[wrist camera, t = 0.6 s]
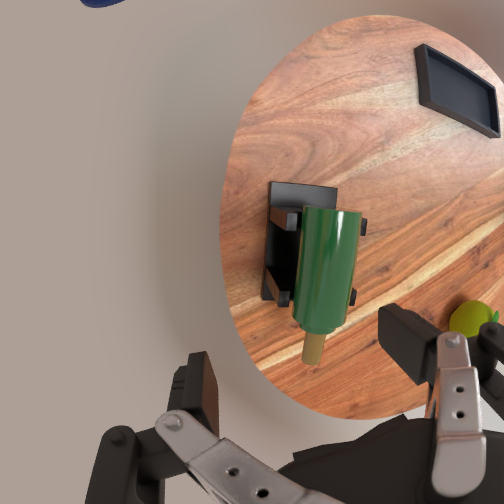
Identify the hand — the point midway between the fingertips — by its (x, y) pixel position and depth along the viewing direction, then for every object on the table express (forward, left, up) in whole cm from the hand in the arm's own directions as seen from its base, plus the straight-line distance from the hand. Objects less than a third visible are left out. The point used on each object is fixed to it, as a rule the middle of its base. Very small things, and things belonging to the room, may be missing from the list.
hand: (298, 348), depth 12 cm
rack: (0, +6, -22) cm, 23 cm away
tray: (-27, +33, -22) cm, 48 cm away
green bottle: (+2, +6, -15) cm, 16 cm away
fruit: (+12, +38, -22) cm, 46 cm away
